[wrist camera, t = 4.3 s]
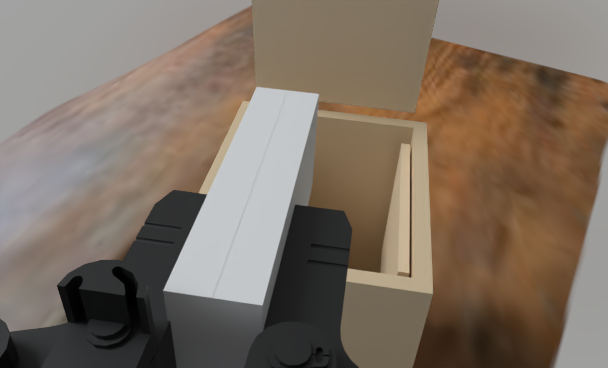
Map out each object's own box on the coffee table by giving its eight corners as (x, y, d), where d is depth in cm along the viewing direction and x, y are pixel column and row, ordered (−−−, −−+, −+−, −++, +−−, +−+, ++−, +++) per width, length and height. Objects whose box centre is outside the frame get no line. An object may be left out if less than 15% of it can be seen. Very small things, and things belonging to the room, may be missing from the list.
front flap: (414, 112, 28) (414, 107, 28) (449, -49, 22) (449, -54, 22) (256, 93, 28) (258, 89, 29) (248, -68, 22) (251, -72, 23)
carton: (386, 313, 36) (426, 122, 28) (378, 492, 27) (433, 293, 19) (246, 292, 37) (243, 100, 28) (195, 459, 28) (168, 255, 20)
